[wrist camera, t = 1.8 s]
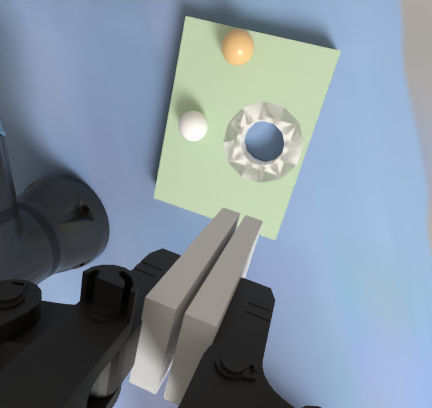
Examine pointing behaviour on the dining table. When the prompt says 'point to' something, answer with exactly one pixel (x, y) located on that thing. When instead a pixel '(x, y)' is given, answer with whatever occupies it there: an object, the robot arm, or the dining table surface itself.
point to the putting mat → (241, 122)
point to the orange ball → (237, 47)
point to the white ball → (193, 126)
